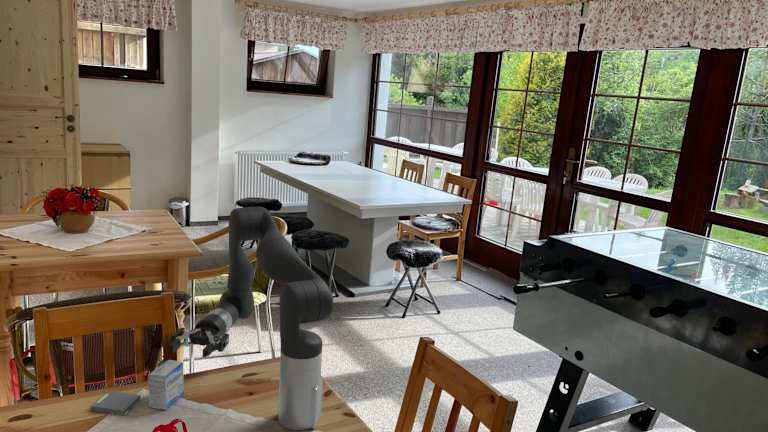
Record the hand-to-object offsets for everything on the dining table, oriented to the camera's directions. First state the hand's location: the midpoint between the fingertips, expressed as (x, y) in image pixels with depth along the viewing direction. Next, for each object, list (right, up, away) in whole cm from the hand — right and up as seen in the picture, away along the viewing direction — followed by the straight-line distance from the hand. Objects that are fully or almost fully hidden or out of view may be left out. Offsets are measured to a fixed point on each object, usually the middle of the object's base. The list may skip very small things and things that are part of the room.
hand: (187, 351), depth 150 cm
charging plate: (-12, -9, -13) cm, 20 cm away
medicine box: (-2, -10, -9) cm, 14 cm away
